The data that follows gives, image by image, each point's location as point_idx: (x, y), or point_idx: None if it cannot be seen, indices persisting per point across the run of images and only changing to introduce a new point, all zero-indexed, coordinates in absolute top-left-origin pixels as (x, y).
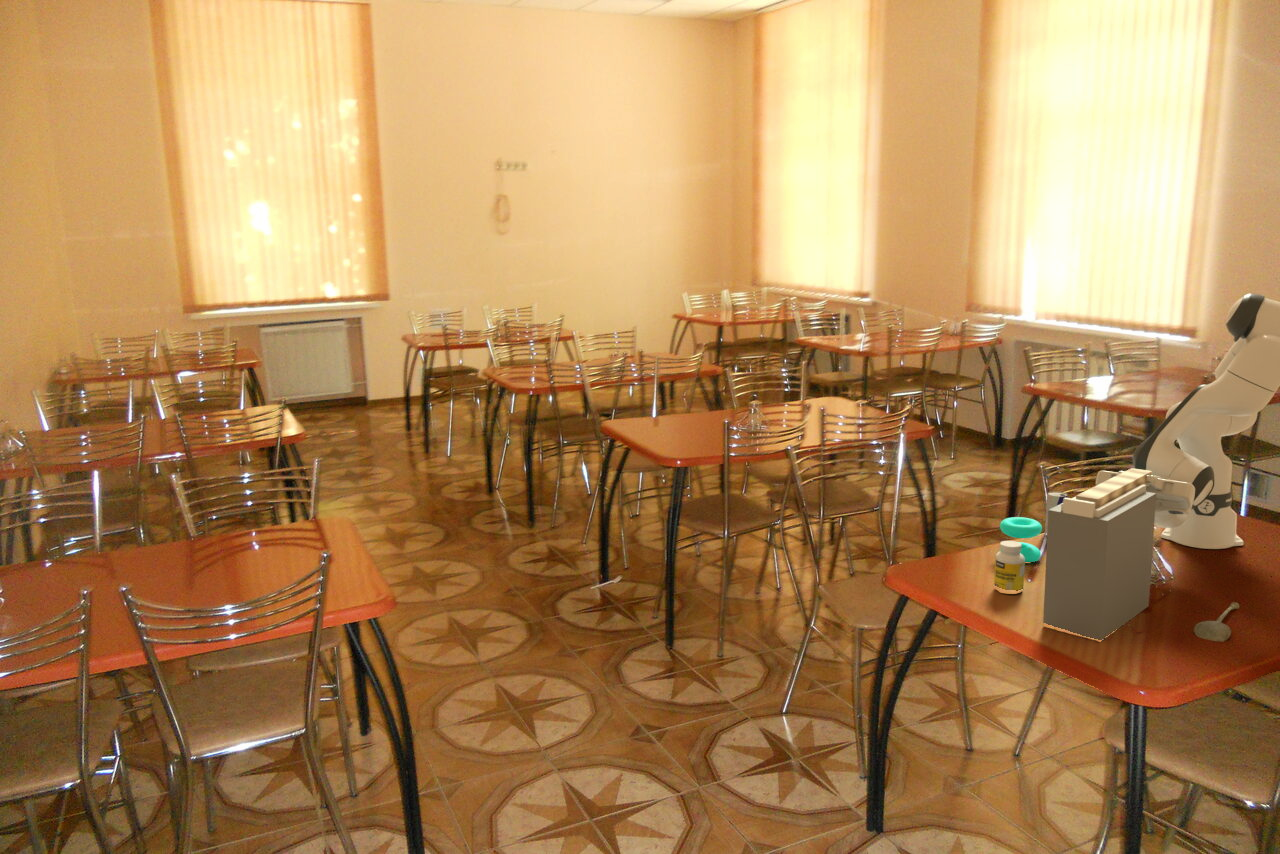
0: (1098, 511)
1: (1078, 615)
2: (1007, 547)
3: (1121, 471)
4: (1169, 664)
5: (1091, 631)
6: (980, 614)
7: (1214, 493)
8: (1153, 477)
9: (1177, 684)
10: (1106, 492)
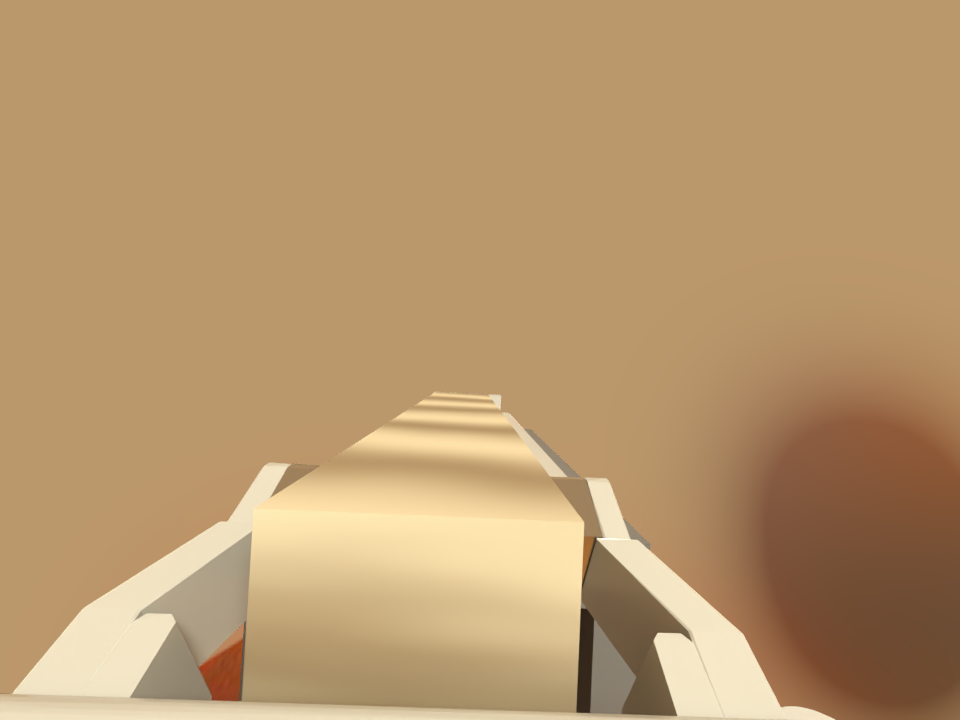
0: None
1: None
2: (786, 709)
3: (583, 479)
4: (238, 698)
5: None
6: None
7: None
8: (261, 484)
9: (240, 643)
10: (438, 397)
